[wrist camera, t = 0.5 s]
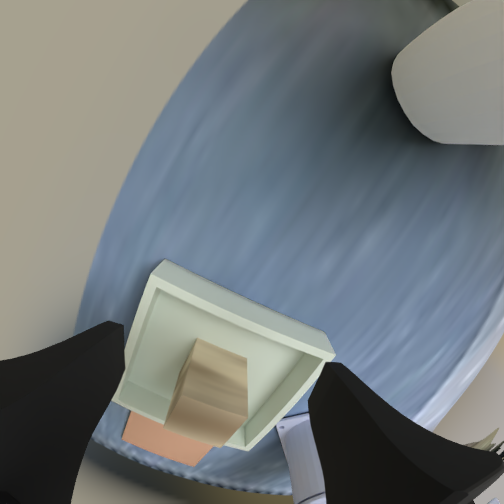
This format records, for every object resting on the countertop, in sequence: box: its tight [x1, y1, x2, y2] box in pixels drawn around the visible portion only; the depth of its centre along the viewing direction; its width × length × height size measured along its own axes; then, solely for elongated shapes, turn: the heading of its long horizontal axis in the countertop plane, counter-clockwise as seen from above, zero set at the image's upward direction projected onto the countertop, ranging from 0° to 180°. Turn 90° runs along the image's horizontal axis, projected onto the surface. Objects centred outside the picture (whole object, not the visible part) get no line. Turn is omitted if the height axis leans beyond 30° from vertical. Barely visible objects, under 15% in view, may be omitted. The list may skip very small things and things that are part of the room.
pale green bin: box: [111, 259, 336, 451], centre depth 18 cm, size 13×13×3 cm
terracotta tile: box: [122, 411, 213, 467], centre depth 22 cm, size 9×9×1 cm
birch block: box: [163, 338, 248, 448], centre depth 16 cm, size 4×4×6 cm
